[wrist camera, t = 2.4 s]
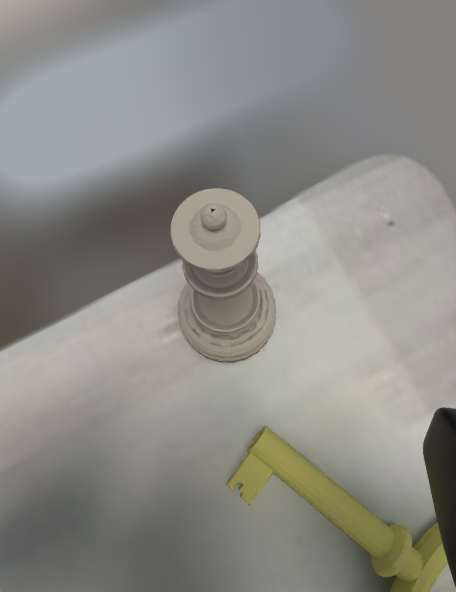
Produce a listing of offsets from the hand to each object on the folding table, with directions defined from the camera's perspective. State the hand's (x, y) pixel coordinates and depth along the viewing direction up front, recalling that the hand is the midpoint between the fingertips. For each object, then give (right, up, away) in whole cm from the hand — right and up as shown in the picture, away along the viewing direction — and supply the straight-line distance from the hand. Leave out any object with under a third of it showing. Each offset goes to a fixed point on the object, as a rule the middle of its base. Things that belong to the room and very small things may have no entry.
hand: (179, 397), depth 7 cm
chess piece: (+1, +1, +12) cm, 12 cm away
